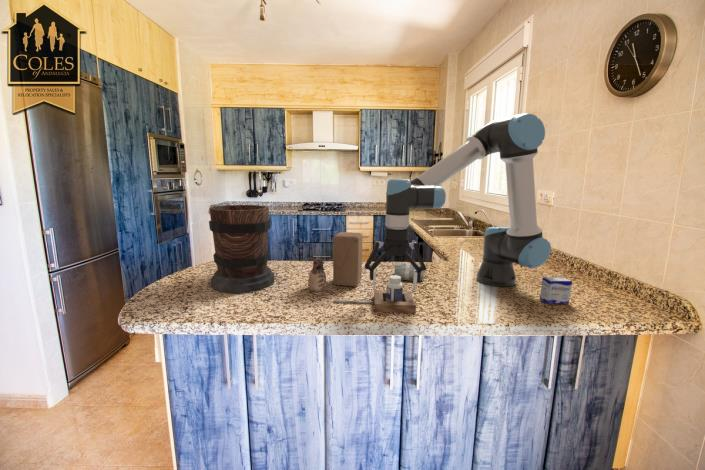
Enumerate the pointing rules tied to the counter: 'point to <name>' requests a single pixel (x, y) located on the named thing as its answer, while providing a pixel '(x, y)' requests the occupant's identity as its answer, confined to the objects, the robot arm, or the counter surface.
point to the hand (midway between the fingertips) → (394, 289)
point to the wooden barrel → (241, 248)
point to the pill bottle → (394, 289)
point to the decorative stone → (406, 271)
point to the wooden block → (347, 259)
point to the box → (555, 290)
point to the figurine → (317, 277)
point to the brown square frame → (388, 302)
